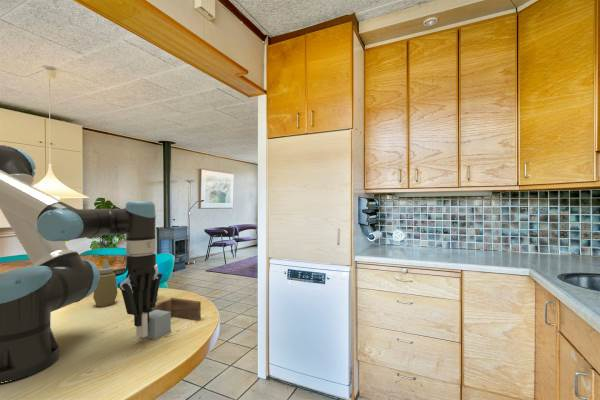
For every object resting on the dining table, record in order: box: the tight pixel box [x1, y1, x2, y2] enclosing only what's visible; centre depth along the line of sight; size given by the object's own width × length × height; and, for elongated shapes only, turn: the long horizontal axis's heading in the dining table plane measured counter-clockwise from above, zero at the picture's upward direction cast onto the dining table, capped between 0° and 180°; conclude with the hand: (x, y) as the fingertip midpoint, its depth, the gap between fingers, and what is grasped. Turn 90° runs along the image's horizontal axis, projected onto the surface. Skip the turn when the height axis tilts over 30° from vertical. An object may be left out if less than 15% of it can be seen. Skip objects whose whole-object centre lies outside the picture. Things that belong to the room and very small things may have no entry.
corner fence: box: [151, 297, 202, 322], centre depth 94 cm, size 11×13×6 cm
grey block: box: [144, 310, 172, 341], centre depth 86 cm, size 6×6×6 cm
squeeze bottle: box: [93, 258, 118, 307], centre depth 113 cm, size 8×8×18 cm
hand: (142, 335), depth 81 cm, fingers closed
